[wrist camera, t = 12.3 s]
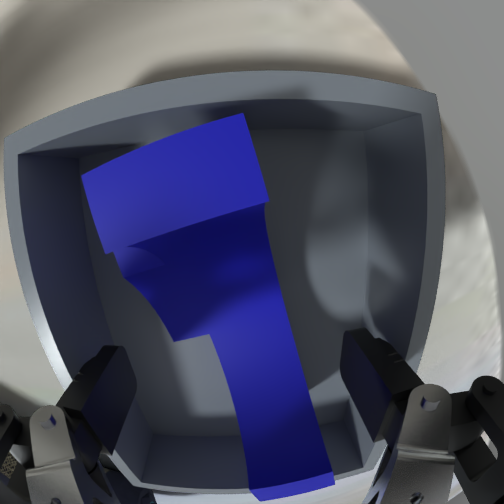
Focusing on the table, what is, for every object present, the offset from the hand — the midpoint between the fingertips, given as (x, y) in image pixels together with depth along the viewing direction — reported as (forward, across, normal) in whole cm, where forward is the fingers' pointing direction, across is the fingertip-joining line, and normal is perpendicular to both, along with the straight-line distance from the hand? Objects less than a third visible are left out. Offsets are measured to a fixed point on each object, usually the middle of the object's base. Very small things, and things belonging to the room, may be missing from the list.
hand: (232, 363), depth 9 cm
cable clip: (+3, 0, -1) cm, 3 cm away
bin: (+4, 0, 0) cm, 4 cm away
